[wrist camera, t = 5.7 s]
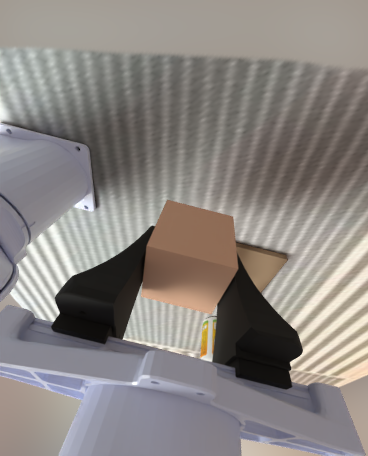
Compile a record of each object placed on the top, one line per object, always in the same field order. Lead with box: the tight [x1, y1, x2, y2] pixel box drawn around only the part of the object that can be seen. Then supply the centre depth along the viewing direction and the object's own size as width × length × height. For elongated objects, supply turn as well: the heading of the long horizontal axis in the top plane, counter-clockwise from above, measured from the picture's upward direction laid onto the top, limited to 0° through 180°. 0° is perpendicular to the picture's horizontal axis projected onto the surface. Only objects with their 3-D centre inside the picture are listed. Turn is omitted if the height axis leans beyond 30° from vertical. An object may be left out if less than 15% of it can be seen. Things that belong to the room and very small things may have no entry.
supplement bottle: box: [200, 317, 217, 362], centre depth 33 cm, size 5×5×10 cm
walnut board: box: [236, 242, 288, 293], centre depth 27 cm, size 13×13×1 cm
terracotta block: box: [141, 200, 238, 314], centre depth 14 cm, size 5×5×5 cm
